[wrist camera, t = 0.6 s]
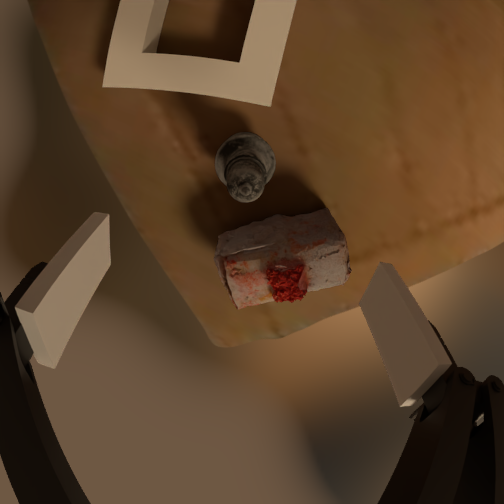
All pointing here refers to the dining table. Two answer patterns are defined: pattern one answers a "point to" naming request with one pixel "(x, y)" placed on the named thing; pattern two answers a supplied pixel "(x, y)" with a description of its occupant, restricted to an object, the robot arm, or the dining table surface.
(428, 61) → the dining table surface
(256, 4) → the square frame
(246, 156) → the dark chess piece
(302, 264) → the food item
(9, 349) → the robot arm
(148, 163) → the dining table surface
